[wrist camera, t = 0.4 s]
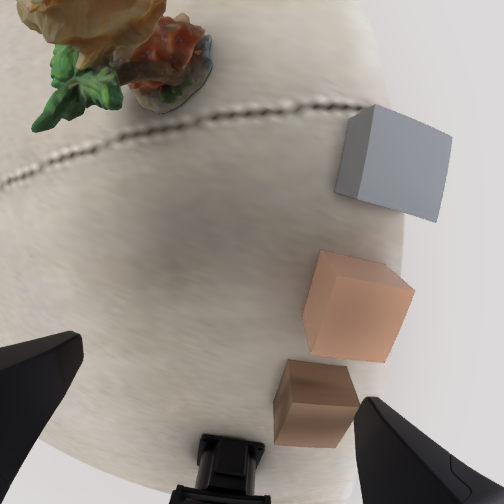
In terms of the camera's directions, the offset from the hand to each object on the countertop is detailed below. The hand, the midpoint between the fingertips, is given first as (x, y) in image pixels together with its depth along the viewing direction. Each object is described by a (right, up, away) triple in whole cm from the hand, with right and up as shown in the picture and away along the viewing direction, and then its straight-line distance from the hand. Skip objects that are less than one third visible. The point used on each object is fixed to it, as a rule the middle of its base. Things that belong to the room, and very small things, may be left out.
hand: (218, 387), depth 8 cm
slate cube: (+9, +10, +10) cm, 17 cm away
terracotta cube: (+8, +1, +12) cm, 15 cm away
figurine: (-5, +15, +9) cm, 19 cm away
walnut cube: (+6, -7, +15) cm, 17 cm away
